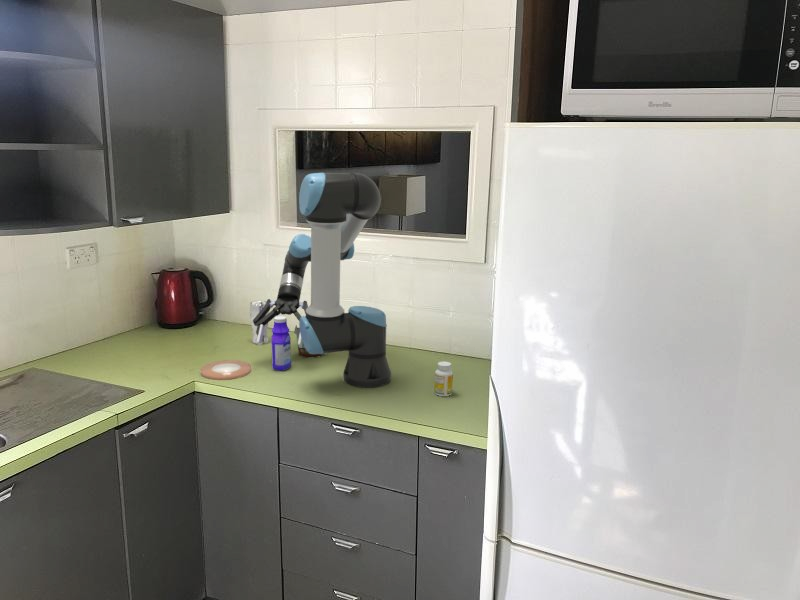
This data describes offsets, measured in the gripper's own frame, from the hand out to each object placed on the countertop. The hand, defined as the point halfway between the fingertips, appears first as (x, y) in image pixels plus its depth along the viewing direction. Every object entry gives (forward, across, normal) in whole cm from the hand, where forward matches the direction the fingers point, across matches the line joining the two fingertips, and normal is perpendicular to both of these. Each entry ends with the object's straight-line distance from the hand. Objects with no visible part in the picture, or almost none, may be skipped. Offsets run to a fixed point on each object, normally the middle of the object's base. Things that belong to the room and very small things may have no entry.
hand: (279, 344), depth 213 cm
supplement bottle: (+16, -54, +3) cm, 56 cm away
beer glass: (-14, +16, -27) cm, 34 cm away
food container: (-5, -6, -18) cm, 19 cm away
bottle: (+5, 0, -8) cm, 9 cm away
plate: (+8, +17, -4) cm, 19 cm away
